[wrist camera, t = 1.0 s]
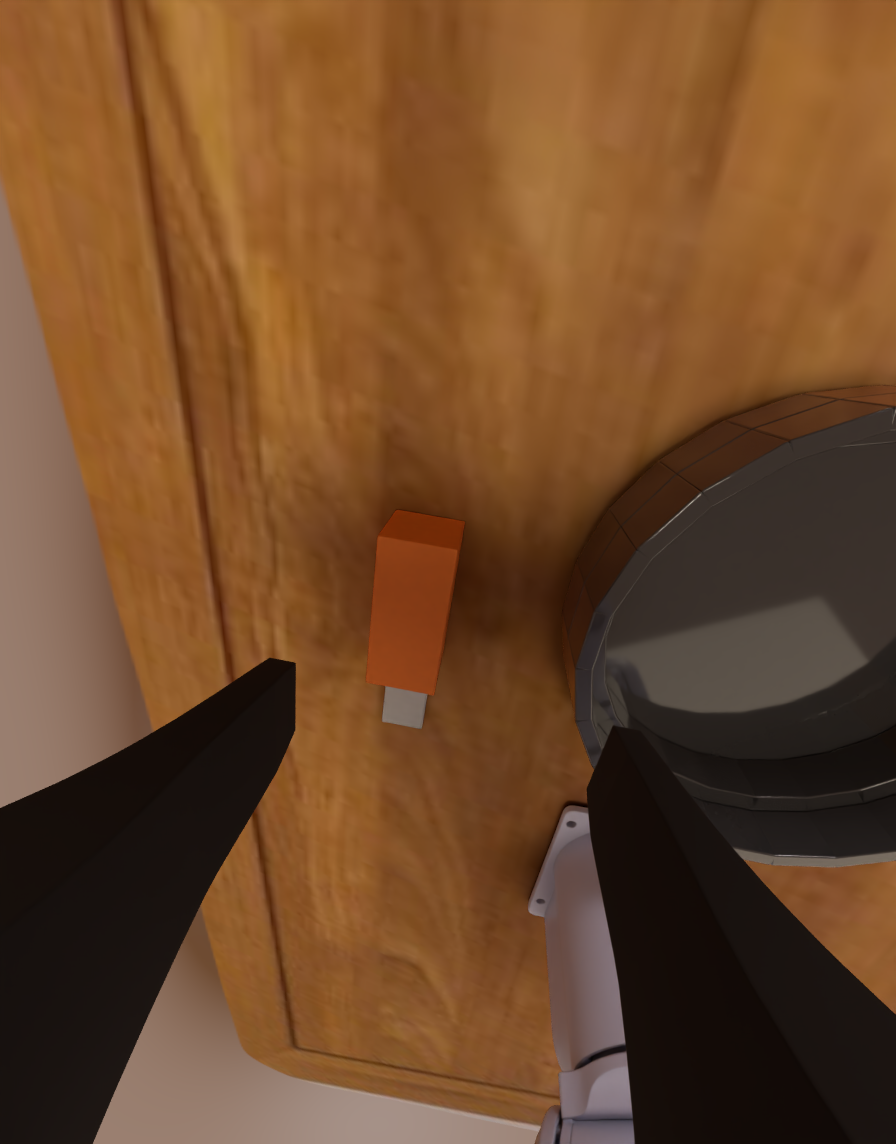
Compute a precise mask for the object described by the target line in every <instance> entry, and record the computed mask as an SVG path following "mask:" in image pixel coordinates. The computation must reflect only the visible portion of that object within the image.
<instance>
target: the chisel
mask: <svg viewBox="0 0 896 1144" xmlns="http://www.w3.org/2000/svg"><path fill="white" fill-rule="evenodd" d="M464 526H465V522H464V521H460V520H454V519H448V518H443V517H437V516H431V515H426V514H420V513H414V512H409V511H403V510H396V511H395V512H394V514H393V515H392V516H391V518H390V519H389V521H388V522H387V524H386V525H385V526H384V528H383V529H382V531H381V532H380V533H379V535H378V536H377V549H376V561H375V573H374V586H373V598H372V610H371V623H370V635H369V647H368V659H367V672H366V682H367V683H372V684H377V685H382V686H386V687H385V696H384V706H383V715H382V721H383V722H388V723H393V724H398V725H403V726H408V727H414V728H419V729H421V728H422V725H423V720H424V714H425V708H426V701H427V695H428V694H429V695H434V693H435V689H436V684H437V679H438V674H439V670H440V665H441V660H442V655H443V650H444V645H445V639H446V633H447V627H448V621H449V615H450V609H451V603H452V597H453V591H454V586H455V580H456V574H457V568H458V562H459V556H460V550H461V544H462V538H463V532H464Z"/></svg>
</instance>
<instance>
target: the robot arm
mask: <svg viewBox="0 0 896 1144" xmlns="http://www.w3.org/2000/svg"><path fill="white" fill-rule="evenodd" d="M295 688H296V663H294V662H289V661H284V660H279V659H274V658H268V659H267V660H265V661H264V662H262V663H261V664H259V665H258V666H256V667H255V668H253V669H252V670H250V671H249V672H247V673H246V674H244V675H243V676H241V677H240V678H238V679H237V680H235V681H234V682H232V683H231V684H229V685H228V686H226V687H225V688H223V689H222V690H220V691H219V692H217V693H216V694H214V695H213V696H211V697H209V698H208V699H206V700H205V701H203V702H202V703H200V704H198V705H197V706H195V707H194V708H192V709H191V710H189V711H188V712H186V713H184V714H183V715H181V716H180V717H178V718H176V719H175V720H173V721H171V722H170V723H168V724H166V725H165V726H163V727H161V728H160V729H158V730H156V731H154V732H153V733H151V734H149V735H148V736H146V737H144V738H143V739H141V740H139V741H138V742H136V743H134V744H132V745H130V746H129V747H127V748H125V749H123V750H121V751H119V752H118V753H116V754H114V755H112V756H110V757H108V758H106V759H104V760H102V761H100V762H98V763H96V764H94V765H92V766H90V767H88V768H87V769H85V770H82V771H80V772H79V773H76V774H74V775H72V776H70V777H68V778H66V779H64V780H62V781H60V782H58V783H56V784H53V785H51V786H49V787H47V788H45V789H42V790H40V791H38V792H35V793H33V794H31V795H29V796H26V797H24V798H22V799H20V800H18V801H15V802H13V803H11V804H8V805H6V806H4V807H2V808H0V1144H93V1142H94V1139H95V1137H96V1135H97V1132H98V1130H99V1128H100V1125H101V1123H102V1120H103V1118H104V1116H105V1113H106V1111H107V1108H108V1106H109V1104H110V1102H111V1099H112V1097H113V1094H114V1092H115V1090H116V1087H117V1085H118V1083H119V1081H120V1078H121V1076H122V1074H123V1071H124V1069H125V1067H126V1064H127V1062H128V1060H129V1058H130V1055H131V1053H132V1051H133V1049H134V1047H135V1045H136V1042H137V1040H138V1038H139V1035H140V1033H141V1031H142V1029H143V1026H144V1024H145V1022H146V1020H147V1017H148V1015H149V1013H150V1011H151V1009H152V1006H153V1004H154V1002H155V1000H156V998H157V996H158V993H159V991H160V989H161V987H162V985H163V983H164V981H165V978H166V976H167V974H168V972H169V970H170V968H171V965H172V963H173V961H174V959H175V957H176V955H177V953H178V950H179V948H180V946H181V944H182V942H183V940H184V938H185V936H186V934H187V932H188V930H189V927H190V926H191V924H192V921H193V919H194V917H195V915H196V913H197V911H198V909H199V907H200V905H201V903H202V901H203V899H204V897H205V895H206V893H207V891H208V889H209V887H210V885H211V884H212V882H213V880H214V878H215V876H216V874H217V873H218V871H219V869H220V867H221V866H222V864H223V862H224V861H225V859H226V857H227V856H228V854H229V852H230V851H231V849H232V847H233V846H234V844H235V842H236V840H237V839H238V837H239V835H240V834H241V832H242V830H243V829H244V827H245V825H246V824H247V822H248V820H249V819H250V817H251V815H252V813H253V812H254V810H255V808H256V807H257V805H258V803H259V802H260V800H261V798H262V796H263V795H264V793H265V791H266V790H267V788H268V786H269V784H270V783H271V781H272V779H273V777H274V776H275V774H276V772H277V770H278V768H279V766H280V764H281V761H282V759H283V757H284V755H285V753H286V750H287V748H288V746H289V743H290V741H291V739H292V736H293V734H294V732H295ZM587 801H588V808H585V807H580V806H575V805H571V806H567V807H566V808H565V809H564V810H563V813H562V815H561V818H560V821H559V823H558V826H557V828H556V831H555V834H554V836H553V839H552V842H551V844H550V847H549V849H548V852H547V855H546V857H545V860H544V863H543V865H542V868H541V870H540V873H539V876H538V878H537V881H536V884H535V886H534V889H533V891H532V894H531V897H530V899H529V902H528V911H529V912H530V913H531V914H533V915H536V916H541V917H544V918H545V933H546V948H547V963H548V978H549V993H550V1008H551V1023H552V1035H553V1042H554V1048H555V1052H556V1056H557V1059H558V1062H559V1065H560V1068H561V1070H562V1072H560V1073H559V1074H558V1076H559V1090H560V1105H554V1106H552V1107H550V1108H549V1109H548V1111H547V1112H546V1114H545V1116H544V1119H543V1122H542V1125H541V1129H540V1131H539V1133H538V1135H537V1138H536V1141H535V1144H896V1014H894V1013H893V1012H892V1011H891V1010H890V1009H889V1008H888V1007H887V1006H886V1005H885V1004H884V1003H883V1002H882V1001H881V1000H879V999H878V998H877V997H876V996H875V995H874V994H873V993H872V992H871V991H870V990H869V989H868V988H867V987H866V986H865V985H864V984H863V983H861V982H860V981H859V980H858V979H857V978H856V977H855V976H854V975H853V974H852V973H851V972H850V971H849V970H848V969H847V968H846V967H845V966H843V965H842V964H841V963H840V962H839V961H838V960H837V959H836V958H835V957H834V956H833V955H832V954H831V953H830V952H829V951H828V950H827V949H826V948H825V947H824V946H823V945H822V944H821V943H820V942H819V941H818V940H817V939H816V938H815V937H814V936H813V935H812V934H811V933H810V932H809V931H808V929H807V928H806V927H805V926H804V925H803V924H802V923H801V922H800V921H799V920H798V919H797V918H796V917H795V916H794V915H793V914H792V913H791V912H790V911H789V910H788V909H787V908H786V907H785V906H784V905H783V903H782V902H781V901H780V900H779V899H778V898H777V897H776V896H775V895H774V894H773V893H772V892H771V891H770V889H769V888H768V887H767V886H766V885H765V884H764V883H763V882H762V881H761V880H760V878H759V877H758V876H757V875H756V874H755V873H754V872H753V870H752V869H751V868H750V867H749V866H748V865H747V864H746V862H745V861H744V860H743V859H742V858H741V857H740V855H739V854H738V853H737V852H736V851H735V850H734V849H733V847H732V846H731V845H730V844H729V843H728V841H727V840H726V839H725V838H724V837H723V835H722V834H721V833H720V832H719V831H718V829H717V828H716V827H715V826H714V825H713V823H712V822H711V821H710V820H709V818H708V817H707V816H706V815H705V813H704V812H703V811H702V810H701V808H700V807H699V806H698V805H697V803H696V802H695V801H694V799H693V798H692V797H691V796H690V794H689V793H688V792H687V790H686V789H685V788H684V787H683V785H682V784H681V783H680V781H679V780H678V779H677V777H676V776H675V775H674V773H673V772H672V771H671V770H670V768H669V767H668V766H667V764H666V763H665V762H664V760H663V759H662V758H661V756H660V755H659V754H658V752H657V751H656V750H655V748H654V747H653V746H652V744H651V743H650V742H649V741H648V739H647V738H646V737H645V736H644V734H643V733H642V732H641V731H640V730H635V729H630V728H624V727H619V726H614V725H613V726H612V729H611V731H610V733H609V736H608V738H607V741H606V743H605V746H604V748H603V750H602V753H601V755H600V758H599V760H598V762H597V765H596V767H595V770H594V772H593V775H592V777H591V779H590V782H589V784H588V787H587Z"/></svg>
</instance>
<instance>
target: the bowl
mask: <svg viewBox="0 0 896 1144" xmlns="http://www.w3.org/2000/svg"><path fill="white" fill-rule="evenodd" d="M562 636H563V658H564V663H565V669H566V674H567V680H568V684H569V690H570V695H571V701H572V706H573V711H574V717H575V722H576V725H577V727H578V730H579V733H580V736H581V738H582V741H583V744H584V747H585V749H586V752H587V755H588V758H589V760H590V763H591V765H592V767H593V768H594V769H595V767H596V765H597V762H598V760H599V758H600V755H601V753H602V750H603V748H604V746H605V743H606V741H607V738H608V736H609V733H610V731H611V729H612V726H613V725H614V726H619V727H624V728H630V729H635V730H640V731H641V732H642V733H643V734H644V736H645V737H646V738H647V739H648V741H649V742H650V743H651V744H652V746H653V747H654V748H655V750H656V751H657V752H658V754H659V755H660V756H661V758H662V759H663V760H664V762H665V763H666V764H667V766H668V767H669V768H670V770H671V771H672V772H673V773H674V775H675V776H676V777H677V779H678V780H679V781H680V783H681V784H682V785H683V787H684V788H685V789H686V790H687V792H688V793H689V794H690V796H691V797H692V798H693V799H694V801H695V802H696V803H697V805H698V806H699V807H700V808H701V810H702V811H703V812H704V813H705V815H706V816H707V817H708V818H709V820H710V821H711V822H712V823H713V825H714V826H715V827H716V828H717V829H718V831H719V832H720V833H721V834H722V835H723V837H724V838H725V839H726V840H727V841H728V843H729V844H730V845H731V846H732V847H733V849H734V850H735V851H736V852H737V853H738V854H739V855H740V857H741V858H742V859H744V860H749V861H753V862H758V863H763V864H768V865H770V864H771V865H780V866H808V867H844V866H853V865H862V864H871V863H880V862H889V861H896V386H890V385H875V386H866V387H856V388H847V389H838V390H828V391H819V392H810V393H804V394H802V395H801V394H798V395H795V396H792V397H789V398H786V399H783V400H780V401H778V402H775V403H772V404H769V405H766V406H763V407H760V408H757V409H755V410H752V411H749V412H746V413H743V414H740V415H737V416H734V417H732V418H729V419H726V420H725V421H721V422H720V423H718V424H717V425H715V426H713V427H712V428H710V429H708V430H707V431H705V432H704V433H702V434H700V435H699V436H697V437H695V438H694V439H692V440H691V441H689V442H687V443H686V444H684V445H682V446H681V447H679V448H678V449H676V450H674V451H673V452H671V453H669V454H668V455H666V456H665V457H663V458H661V459H660V460H659V461H657V462H656V463H655V464H654V465H653V466H652V467H651V468H650V469H649V470H648V471H647V472H646V473H645V474H644V475H643V476H642V477H641V478H640V479H639V480H637V481H636V482H635V483H634V484H633V485H632V486H631V487H630V488H629V489H628V490H627V491H626V492H625V493H624V494H623V495H622V496H621V497H620V498H619V499H618V500H617V501H616V502H615V503H614V504H613V505H612V506H611V507H610V508H609V509H608V510H607V512H606V513H605V515H604V517H603V518H602V520H601V522H600V523H599V525H598V526H597V528H596V530H595V531H594V533H593V534H592V536H591V538H590V539H589V541H588V542H587V544H586V546H585V547H584V549H583V550H582V552H581V554H580V555H579V557H578V558H577V561H576V564H575V568H574V571H573V575H572V578H571V581H570V585H569V588H568V592H567V595H566V598H565V602H564V605H563V610H562Z"/></svg>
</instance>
